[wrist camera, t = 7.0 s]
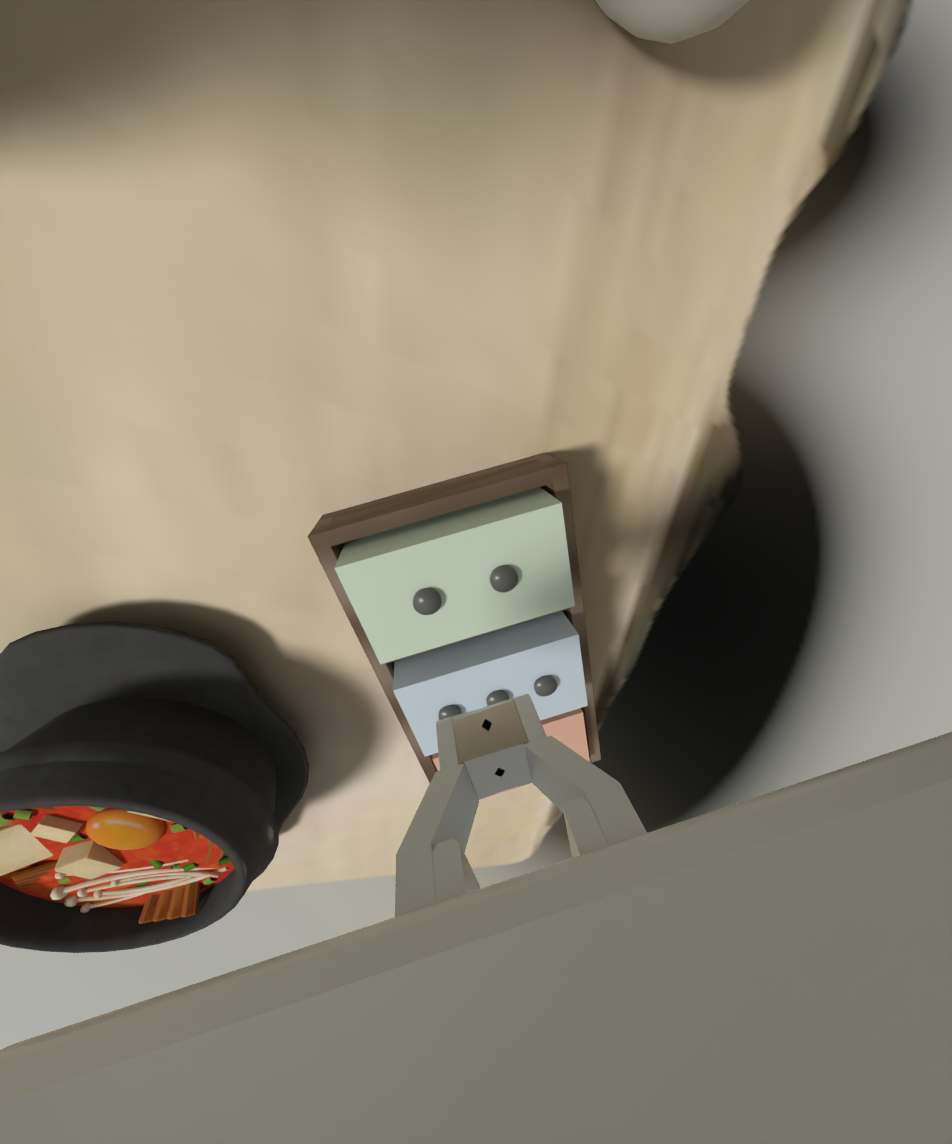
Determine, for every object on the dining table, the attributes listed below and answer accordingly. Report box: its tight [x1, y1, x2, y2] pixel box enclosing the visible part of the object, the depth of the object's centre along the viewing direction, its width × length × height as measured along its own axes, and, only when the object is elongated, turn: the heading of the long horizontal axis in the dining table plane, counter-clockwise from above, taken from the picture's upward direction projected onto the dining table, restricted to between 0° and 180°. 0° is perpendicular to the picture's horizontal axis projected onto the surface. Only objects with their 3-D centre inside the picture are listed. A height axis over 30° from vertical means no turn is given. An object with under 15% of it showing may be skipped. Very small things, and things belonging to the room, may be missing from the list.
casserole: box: [0, 622, 309, 953], centre depth 23 cm, size 25×19×8 cm
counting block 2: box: [393, 611, 588, 757], centre depth 23 cm, size 6×11×4 cm, turn 103°
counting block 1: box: [334, 487, 575, 664], centre depth 20 cm, size 6×11×4 cm, turn 104°
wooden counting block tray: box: [308, 453, 601, 782], centre depth 25 cm, size 24×13×4 cm, turn 14°
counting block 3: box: [432, 708, 590, 799], centre depth 28 cm, size 6×11×4 cm, turn 103°
